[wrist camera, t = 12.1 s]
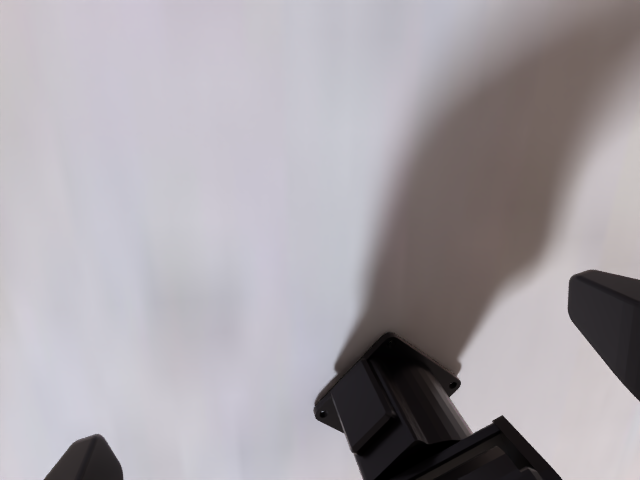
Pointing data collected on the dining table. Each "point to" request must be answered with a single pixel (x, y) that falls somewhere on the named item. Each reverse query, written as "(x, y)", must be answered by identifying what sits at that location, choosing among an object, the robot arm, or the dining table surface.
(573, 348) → the dining table surface
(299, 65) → the dining table surface
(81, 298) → the dining table surface
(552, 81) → the dining table surface
